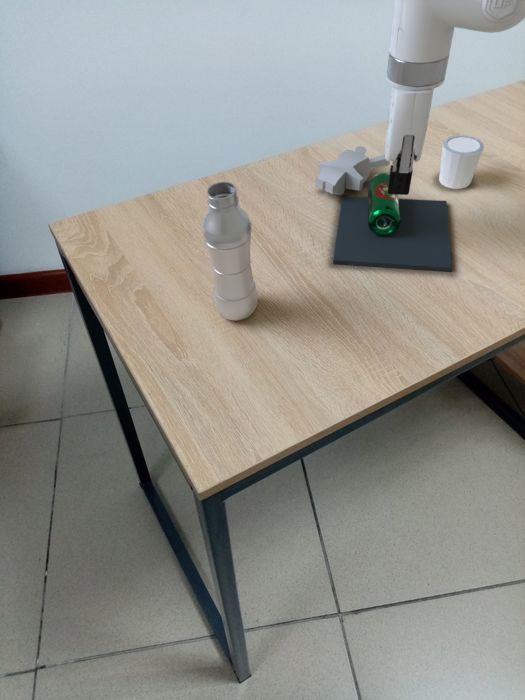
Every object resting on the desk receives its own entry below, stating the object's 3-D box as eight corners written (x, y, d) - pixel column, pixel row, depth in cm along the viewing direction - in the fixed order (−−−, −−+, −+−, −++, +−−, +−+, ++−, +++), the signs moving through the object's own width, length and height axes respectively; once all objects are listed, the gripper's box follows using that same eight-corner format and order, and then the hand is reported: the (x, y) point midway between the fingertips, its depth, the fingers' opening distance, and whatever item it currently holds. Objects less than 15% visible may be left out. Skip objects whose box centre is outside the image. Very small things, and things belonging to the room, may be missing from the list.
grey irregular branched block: (303, 165, 94) (355, 133, 101) (303, 191, 98) (353, 158, 104) (346, 183, 89) (397, 148, 96) (344, 209, 93) (394, 174, 100)
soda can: (375, 242, 87) (374, 200, 95) (405, 230, 85) (401, 189, 92) (363, 218, 84) (362, 178, 92) (393, 206, 82) (390, 165, 89)
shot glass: (428, 182, 98) (435, 145, 92) (448, 166, 101) (456, 130, 95) (461, 195, 94) (470, 158, 89) (481, 178, 97) (491, 142, 92)
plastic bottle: (211, 325, 76) (188, 205, 61) (220, 293, 81) (201, 174, 66) (255, 327, 76) (243, 207, 61) (262, 295, 80) (252, 175, 65)
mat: (445, 204, 93) (446, 200, 92) (451, 271, 81) (452, 267, 80) (341, 199, 95) (342, 195, 95) (332, 263, 84) (333, 259, 83)
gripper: (388, 45, 74) (375, 165, 88) (386, 91, 65) (372, 218, 79) (443, 45, 73) (421, 167, 87) (450, 92, 64) (424, 221, 77)
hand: (398, 191), depth 83 cm, fingers closed
